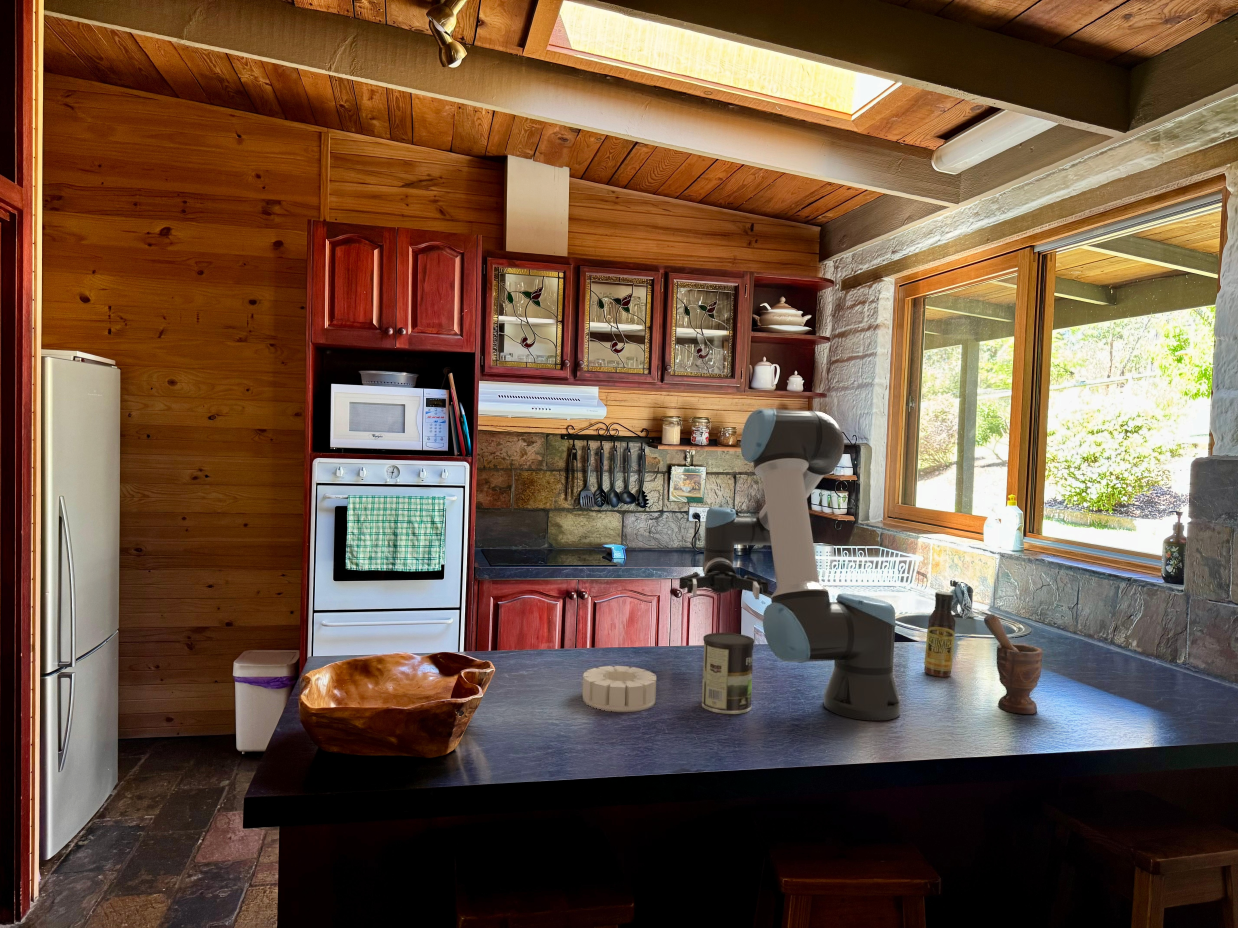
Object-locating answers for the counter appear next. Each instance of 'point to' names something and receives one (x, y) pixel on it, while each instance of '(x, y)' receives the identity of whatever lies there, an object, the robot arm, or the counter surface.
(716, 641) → the coffee can
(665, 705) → the counter surface
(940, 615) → the sauce bottle
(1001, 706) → the mortar and pestle
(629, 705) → the cream cog ring
